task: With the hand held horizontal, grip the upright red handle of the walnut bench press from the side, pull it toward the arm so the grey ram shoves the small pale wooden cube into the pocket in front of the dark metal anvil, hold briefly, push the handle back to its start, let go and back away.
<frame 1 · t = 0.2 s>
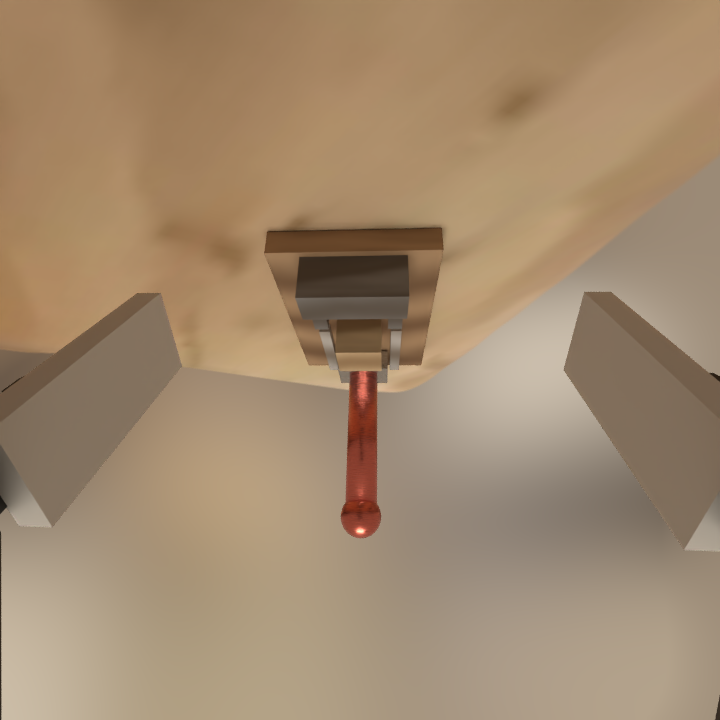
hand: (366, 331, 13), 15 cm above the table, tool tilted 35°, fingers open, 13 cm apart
press lever: (361, 436, 41), point 11 cm above the table, slide at 0.0 cm
press bed: (360, 303, 40), on the table
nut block: (360, 324, 40), point 2 cm above the table, touching press bed
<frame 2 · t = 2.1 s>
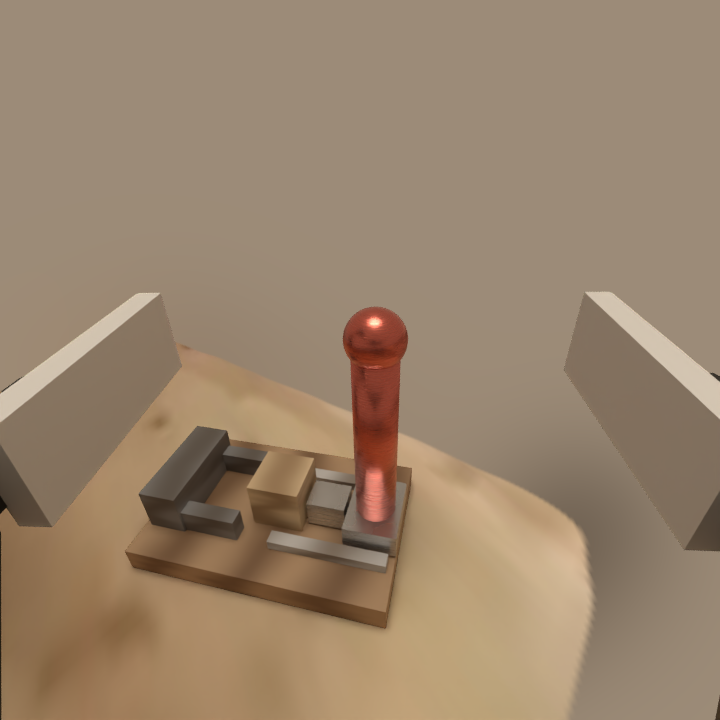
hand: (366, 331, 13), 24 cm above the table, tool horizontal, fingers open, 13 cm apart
press lever: (352, 430, 28), point 11 cm above the table, slide at 0.0 cm
press bed: (284, 521, 36), on the table
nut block: (287, 506, 35), point 2 cm above the table, touching press bed
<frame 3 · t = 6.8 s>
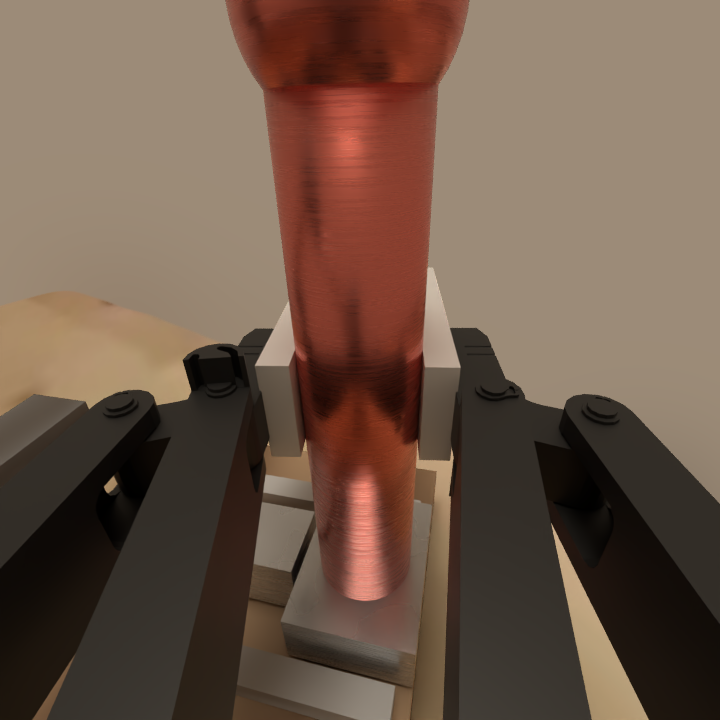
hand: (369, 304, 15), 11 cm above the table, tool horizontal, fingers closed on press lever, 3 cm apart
press lever: (299, 372, 11), point 11 cm above the table, slide at 0.0 cm, touching gripper
press bed: (186, 579, 18), on the table
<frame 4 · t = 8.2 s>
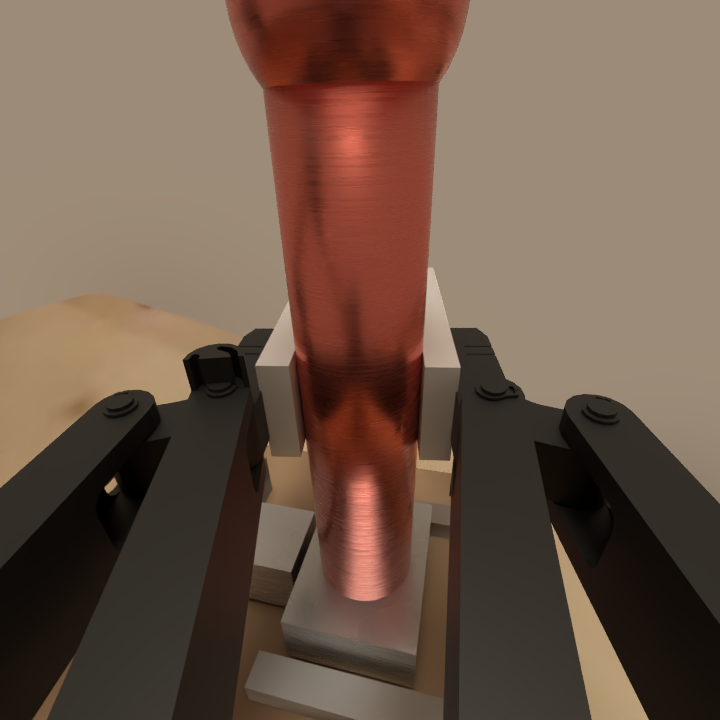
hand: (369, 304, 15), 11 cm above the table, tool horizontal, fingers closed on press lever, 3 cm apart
press lever: (299, 372, 11), point 11 cm above the table, slide at 4.7 cm, touching gripper, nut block
press bed: (289, 603, 17), on the table
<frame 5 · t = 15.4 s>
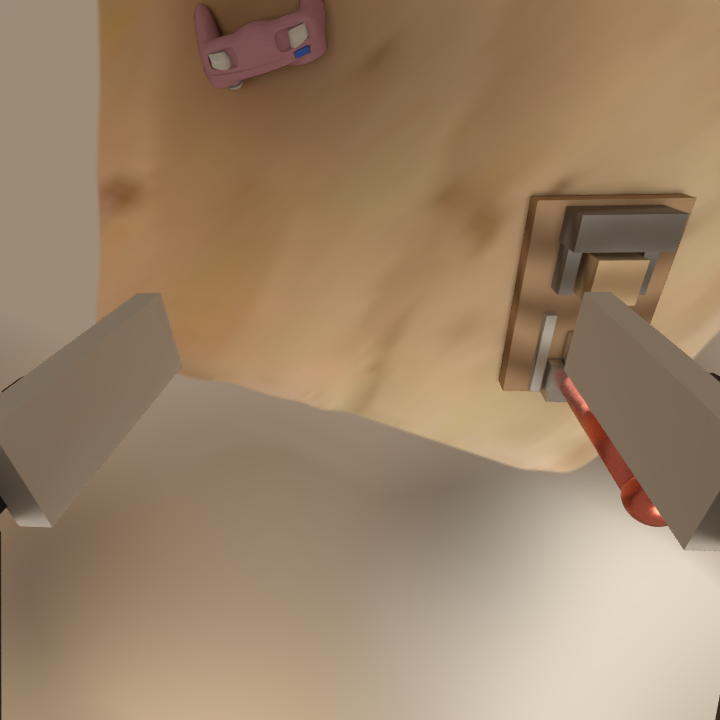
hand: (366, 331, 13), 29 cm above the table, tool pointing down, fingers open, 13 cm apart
press lever: (612, 418, 36), point 11 cm above the table, slide at 0.2 cm
press bed: (578, 299, 42), on the table
video game controller: (269, 36, 33), on the table
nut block: (597, 268, 39), point 2 cm above the table, touching press bed
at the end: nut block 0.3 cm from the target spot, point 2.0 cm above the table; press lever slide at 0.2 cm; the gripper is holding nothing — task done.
